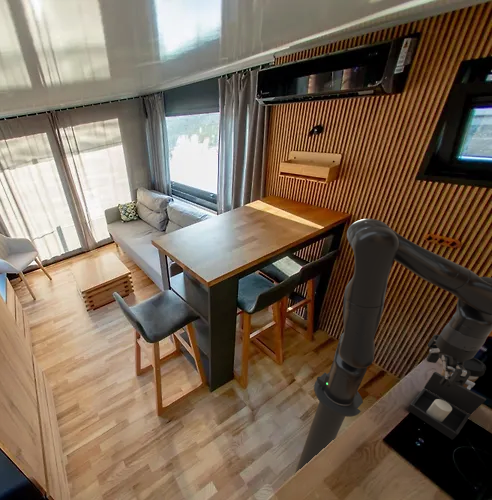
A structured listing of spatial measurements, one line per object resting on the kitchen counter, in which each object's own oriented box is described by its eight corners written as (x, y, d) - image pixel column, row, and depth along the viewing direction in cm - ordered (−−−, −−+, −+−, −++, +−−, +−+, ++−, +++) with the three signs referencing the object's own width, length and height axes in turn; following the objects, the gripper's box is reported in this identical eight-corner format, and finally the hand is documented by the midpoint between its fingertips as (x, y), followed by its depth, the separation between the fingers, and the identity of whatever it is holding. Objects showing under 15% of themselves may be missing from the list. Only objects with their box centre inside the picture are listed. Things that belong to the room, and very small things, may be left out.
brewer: (452, 440, 82) (457, 434, 80) (406, 409, 91) (410, 404, 90) (465, 420, 86) (470, 415, 84) (419, 393, 95) (423, 387, 93)
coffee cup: (459, 401, 91) (480, 376, 83) (428, 382, 98) (445, 357, 90) (471, 389, 93) (493, 364, 86) (440, 371, 100) (457, 347, 93)
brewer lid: (485, 400, 78) (493, 389, 79) (433, 372, 87) (441, 362, 88) (470, 415, 84) (478, 404, 85) (423, 387, 93) (431, 378, 94)
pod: (424, 414, 89) (432, 403, 85) (429, 407, 90) (437, 396, 87) (440, 424, 86) (449, 413, 82) (445, 417, 87) (454, 406, 84)
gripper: (430, 318, 80) (411, 352, 88) (456, 356, 69) (432, 390, 77) (464, 323, 77) (441, 357, 85) (497, 363, 66) (467, 397, 74)
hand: (437, 372), depth 81 cm, fingers open, 8 cm apart
